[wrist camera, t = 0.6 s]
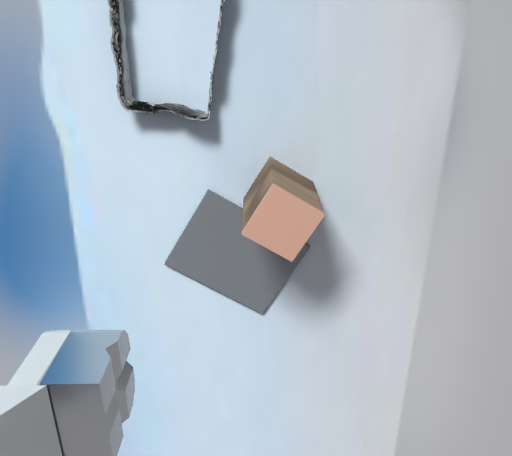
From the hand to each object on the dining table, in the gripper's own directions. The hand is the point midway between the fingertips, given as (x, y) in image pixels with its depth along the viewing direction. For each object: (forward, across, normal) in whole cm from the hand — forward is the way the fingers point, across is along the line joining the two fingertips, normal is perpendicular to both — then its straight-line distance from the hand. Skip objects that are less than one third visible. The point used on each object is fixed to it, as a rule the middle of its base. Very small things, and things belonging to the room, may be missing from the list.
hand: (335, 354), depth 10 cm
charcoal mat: (+38, +4, +17) cm, 42 cm away
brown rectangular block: (+39, -1, +10) cm, 40 cm away
